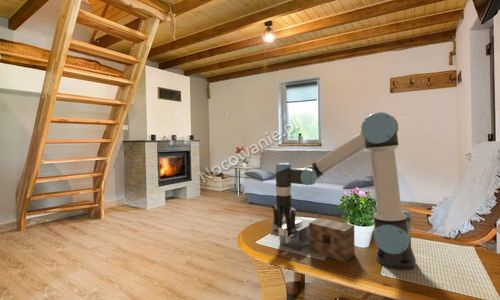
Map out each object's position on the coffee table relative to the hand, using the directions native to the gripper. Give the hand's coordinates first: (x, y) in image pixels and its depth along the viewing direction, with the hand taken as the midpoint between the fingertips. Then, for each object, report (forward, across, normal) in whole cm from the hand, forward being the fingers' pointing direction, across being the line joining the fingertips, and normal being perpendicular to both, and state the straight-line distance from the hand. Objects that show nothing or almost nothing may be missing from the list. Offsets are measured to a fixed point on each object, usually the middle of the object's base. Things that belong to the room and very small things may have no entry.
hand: (284, 240), depth 129 cm
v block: (+4, 0, -8) cm, 10 cm away
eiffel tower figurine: (+5, -2, -32) cm, 32 cm away
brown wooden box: (+4, -19, -12) cm, 23 cm away
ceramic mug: (+5, +18, -21) cm, 28 cm away
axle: (-4, 0, -6) cm, 7 cm away
